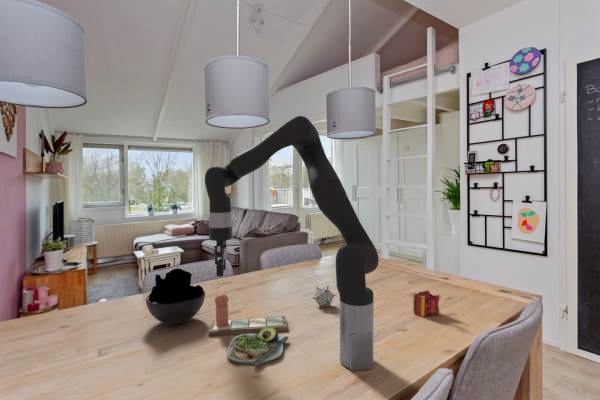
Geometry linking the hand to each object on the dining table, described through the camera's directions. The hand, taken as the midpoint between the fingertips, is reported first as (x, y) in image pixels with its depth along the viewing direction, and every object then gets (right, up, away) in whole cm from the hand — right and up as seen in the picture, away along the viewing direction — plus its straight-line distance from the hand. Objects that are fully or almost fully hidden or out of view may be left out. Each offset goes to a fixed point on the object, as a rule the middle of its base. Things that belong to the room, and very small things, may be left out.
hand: (221, 272), depth 112 cm
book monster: (+75, -19, +11) cm, 79 cm away
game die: (+37, -19, +22) cm, 47 cm away
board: (+9, -20, +2) cm, 22 cm away
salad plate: (+14, -21, -13) cm, 28 cm away
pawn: (0, -18, +1) cm, 18 cm away
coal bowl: (-18, -20, +7) cm, 28 cm away
